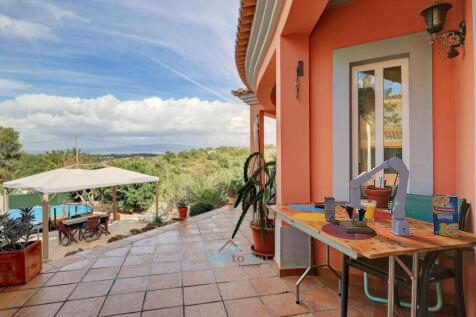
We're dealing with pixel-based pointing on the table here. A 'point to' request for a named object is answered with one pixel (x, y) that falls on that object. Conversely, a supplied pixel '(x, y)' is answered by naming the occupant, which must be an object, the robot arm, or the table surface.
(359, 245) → the table surface
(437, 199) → the blue cereal box
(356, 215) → the teal block
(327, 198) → the coffee box
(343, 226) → the dock
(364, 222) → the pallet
